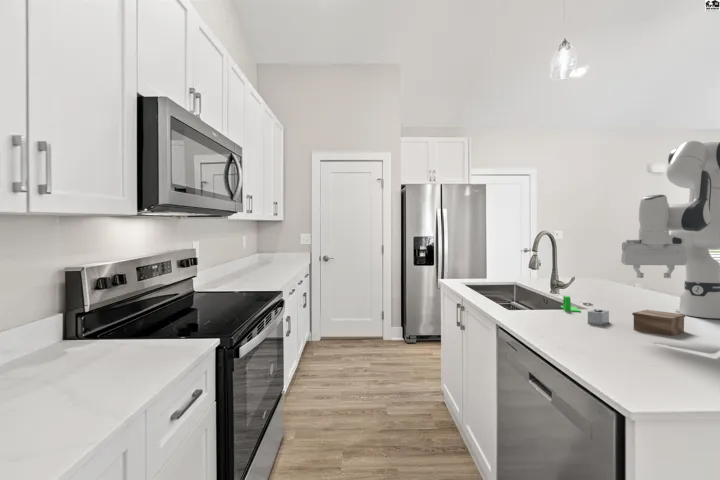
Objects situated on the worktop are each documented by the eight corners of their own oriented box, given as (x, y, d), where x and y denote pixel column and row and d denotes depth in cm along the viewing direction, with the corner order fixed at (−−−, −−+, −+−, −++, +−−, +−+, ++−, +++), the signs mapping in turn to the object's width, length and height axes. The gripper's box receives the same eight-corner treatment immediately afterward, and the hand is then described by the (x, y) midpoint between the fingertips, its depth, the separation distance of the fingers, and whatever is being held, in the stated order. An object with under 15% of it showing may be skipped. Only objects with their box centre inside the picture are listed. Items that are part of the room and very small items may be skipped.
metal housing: (594, 321, 162) (594, 308, 162) (608, 323, 158) (608, 309, 158) (587, 324, 156) (587, 310, 156) (602, 326, 153) (602, 312, 153)
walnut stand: (646, 325, 154) (646, 309, 154) (685, 331, 144) (685, 314, 144) (632, 329, 148) (632, 312, 148) (671, 335, 138) (671, 318, 138)
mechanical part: (580, 315, 175) (580, 296, 175) (565, 314, 177) (565, 296, 177) (574, 310, 187) (574, 293, 187) (560, 310, 189) (560, 292, 188)
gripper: (625, 239, 146) (625, 278, 146) (690, 239, 142) (690, 279, 142) (618, 239, 152) (618, 276, 152) (679, 239, 148) (679, 277, 148)
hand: (653, 277), depth 147 cm, fingers open, 7 cm apart
